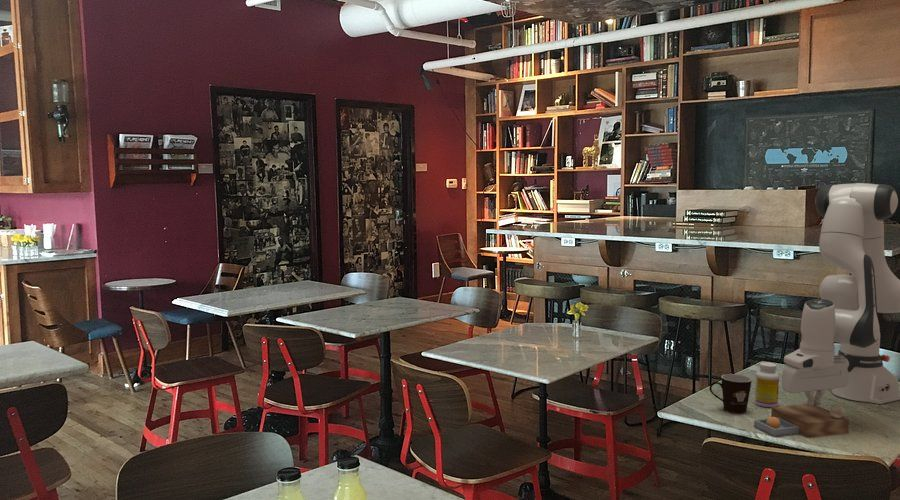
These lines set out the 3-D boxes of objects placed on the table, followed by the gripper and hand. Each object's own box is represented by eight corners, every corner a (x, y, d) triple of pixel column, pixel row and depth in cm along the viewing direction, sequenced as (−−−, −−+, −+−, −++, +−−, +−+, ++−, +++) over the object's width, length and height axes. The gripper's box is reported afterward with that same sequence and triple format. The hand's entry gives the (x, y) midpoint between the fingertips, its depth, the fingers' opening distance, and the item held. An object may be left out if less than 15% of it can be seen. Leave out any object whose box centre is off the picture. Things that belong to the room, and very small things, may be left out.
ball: (767, 412, 205) (761, 424, 205) (776, 417, 202) (770, 429, 202) (776, 417, 206) (770, 428, 206) (785, 422, 203) (779, 433, 203)
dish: (778, 424, 210) (778, 417, 209) (799, 434, 202) (799, 427, 202) (753, 426, 207) (754, 420, 207) (774, 436, 200) (774, 429, 199)
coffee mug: (750, 408, 224) (752, 376, 223) (749, 416, 216) (751, 383, 215) (710, 402, 229) (712, 371, 228) (708, 411, 221) (709, 378, 220)
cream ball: (836, 415, 205) (837, 402, 205) (846, 419, 202) (847, 406, 202) (826, 416, 204) (826, 404, 204) (836, 420, 201) (836, 408, 201)
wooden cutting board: (810, 416, 216) (811, 403, 216) (848, 432, 203) (849, 418, 203) (770, 420, 212) (771, 407, 212) (806, 437, 199) (807, 423, 199)
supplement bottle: (779, 408, 223) (782, 367, 222) (756, 407, 225) (758, 366, 223) (774, 402, 230) (776, 362, 229) (752, 400, 231) (754, 360, 230)
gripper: (837, 351, 212) (835, 397, 214) (778, 357, 206) (776, 404, 208) (855, 356, 206) (852, 404, 208) (795, 363, 200) (792, 412, 202)
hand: (814, 404), depth 208 cm, fingers closed
